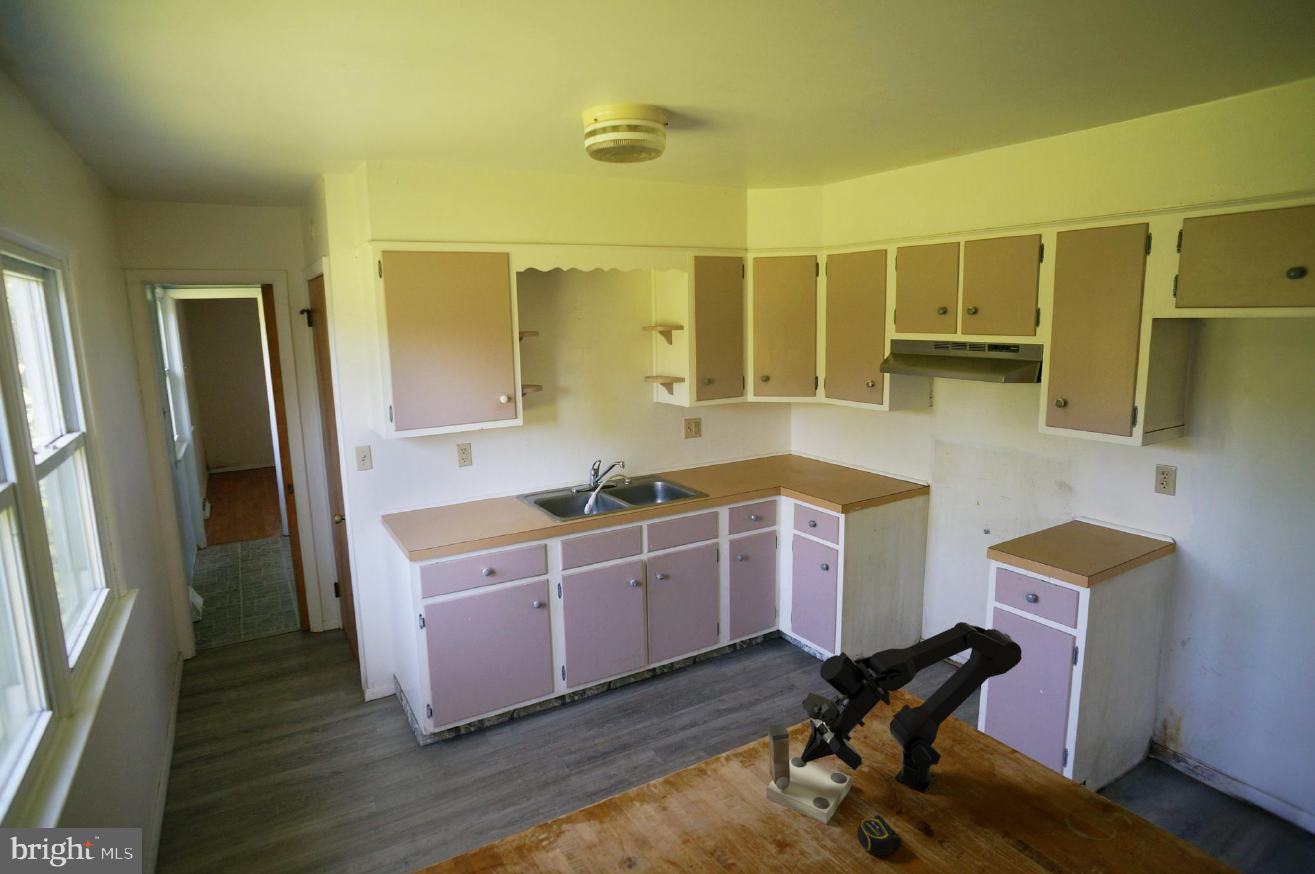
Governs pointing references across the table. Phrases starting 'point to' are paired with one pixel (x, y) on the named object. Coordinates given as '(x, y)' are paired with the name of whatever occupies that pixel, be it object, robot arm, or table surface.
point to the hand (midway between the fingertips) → (802, 760)
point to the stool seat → (811, 790)
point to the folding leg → (779, 755)
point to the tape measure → (878, 836)
